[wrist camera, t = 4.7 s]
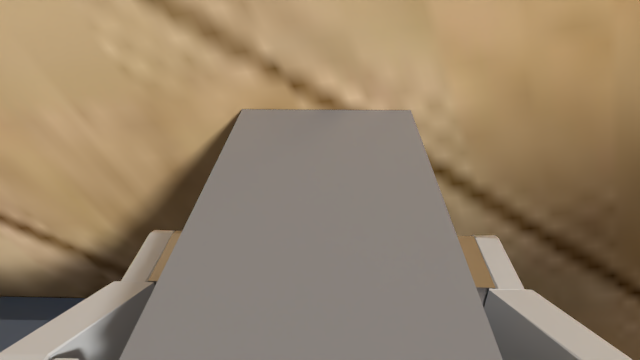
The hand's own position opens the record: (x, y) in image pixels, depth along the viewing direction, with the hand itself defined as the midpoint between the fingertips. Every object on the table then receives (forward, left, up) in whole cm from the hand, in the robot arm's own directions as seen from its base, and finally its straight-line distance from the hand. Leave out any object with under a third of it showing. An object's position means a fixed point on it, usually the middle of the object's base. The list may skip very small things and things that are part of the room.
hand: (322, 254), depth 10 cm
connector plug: (0, 0, -3) cm, 3 cm away
